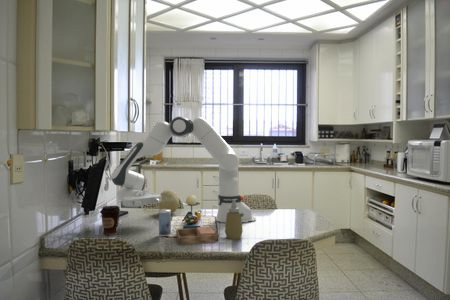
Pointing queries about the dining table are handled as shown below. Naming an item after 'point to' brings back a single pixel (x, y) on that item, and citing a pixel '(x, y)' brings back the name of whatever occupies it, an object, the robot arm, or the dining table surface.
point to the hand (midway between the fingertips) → (150, 202)
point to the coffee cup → (110, 219)
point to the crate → (194, 236)
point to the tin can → (164, 222)
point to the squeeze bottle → (233, 223)
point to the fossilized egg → (168, 201)
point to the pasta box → (205, 231)
